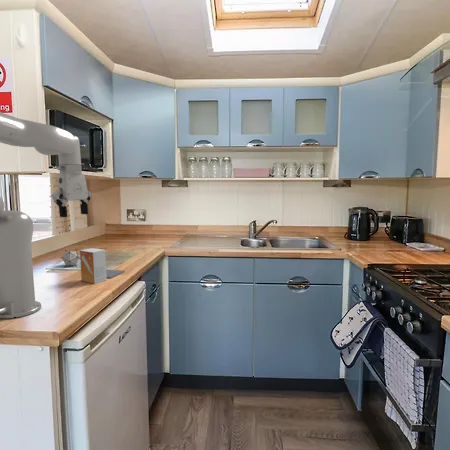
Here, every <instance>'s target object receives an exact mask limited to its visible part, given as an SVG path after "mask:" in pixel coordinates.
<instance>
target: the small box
mask: <svg viewBox="0 0 450 450" xmlns="http://www.w3.org/2000/svg"><path fill="white" fill-rule="evenodd" d="M79 258H80V259H79V260H80V273H81V274H80V275H81V276H80V277H81V278H80V279H81V282H85V283H90V284H94V285H96V284H99V283H103V282H104V281H105V280H106V281H107V280H108V278H107V276H106V270H107V262H106V261H107V258H106V250H105V249H100V248H94V247H91V248H90V247H89V248H85V249H81V250H79Z"/></svg>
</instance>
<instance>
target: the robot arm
mask: <svg viewBox="0 0 450 450" xmlns="http://www.w3.org/2000/svg"><path fill="white" fill-rule="evenodd" d="M0 143H1V144H4V145H9V146H13V147H22V148H30V147H31V148H34V149H35V151H36V152H37V153H39V154H42V155H44V156H55V155H57V157H58V166H57V170H58V171H59V173H58V177H57V190H56V191H55V192H54V193H52V194H51V197H52V199H53V202H54V204H56V206H57V207H58V210H59V211H58V213H59V217H60V218H68V207H67V206H66V204H67V203H68V201H70V202H71V201H78V202H80V205H79V206H80V214H81V215H88V214H89V208H88V207H89V206H88V204H89V203H90V200H91V196H92V194H93V193H92V192H91V191H90V190H89V189H88V185H87V181H86V177H85V176H86V175H85V174H84V173H83V171H82V170H83V169H82V157H81V146H80V145H81V143H80V139H79V137H78V136H76V135H73V134H72V133H71V132H70V131H68V130H65V129H63V128H60V127H59V126H58V127H57V126H54V125H51V124H47V123H41V122H38V121H33V120H29V119H28V120H27V119H22V118H19V117H15V116H12V115H10V114H7V113H4V112H2V111H0ZM33 234H34V223H33V219H32V218H31V217H30V215H28V214H27V213H25V212H22V211H20V210H8V209H7V210H5V202H4V200H3V198H2V197H1V196H0V319H14V317H16V318H21V317H25V316H28V315H31V314H35V313H36V312H38V311H39V310H40V309H42V303H41V302H39V301H36V293H35V292H36V291H35V280H34V268H33V255H32V253H33V252H32V241H33Z"/></svg>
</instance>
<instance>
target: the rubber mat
mask: <svg viewBox="0 0 450 450" xmlns="http://www.w3.org/2000/svg"><path fill="white" fill-rule="evenodd" d="M123 273H125V270H123V269H122V270H120V269H106V276H107V279H113V278H116V277H117V276H119V275H122V274H123Z"/></svg>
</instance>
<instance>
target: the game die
mask: <svg viewBox="0 0 450 450" xmlns="http://www.w3.org/2000/svg"><path fill="white" fill-rule="evenodd" d="M64 251H65V252H64V254H63V256H61V257H60V259H62V260H63V262H64V267H67V266H75V267H77V263H78V261H79V260H80V255H78V252H77V251H78V249H75V250H66V249H64Z"/></svg>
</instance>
